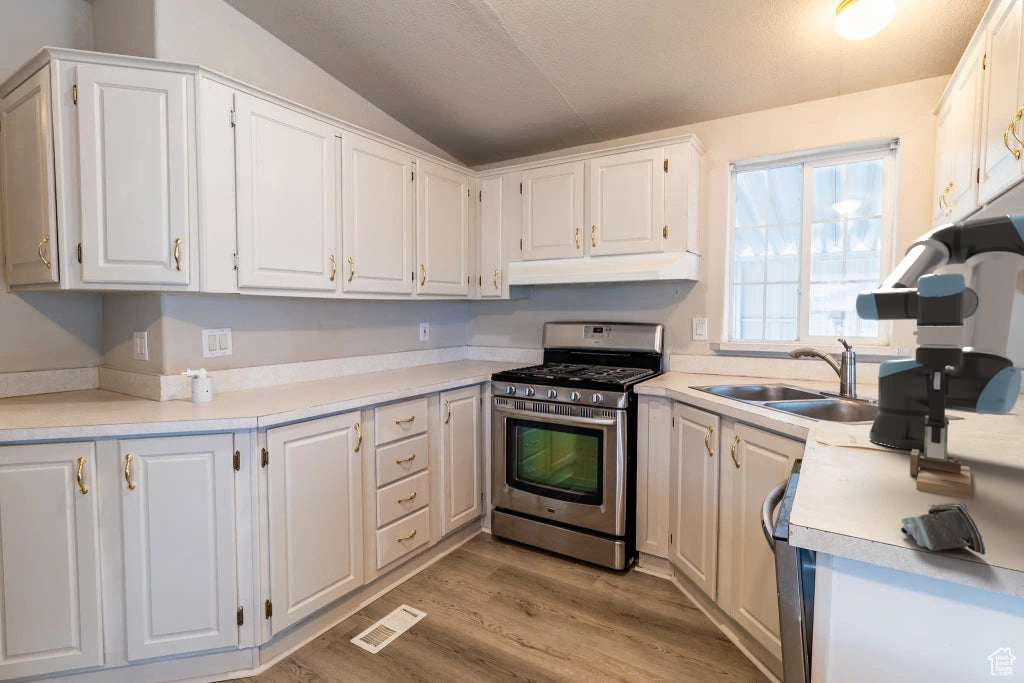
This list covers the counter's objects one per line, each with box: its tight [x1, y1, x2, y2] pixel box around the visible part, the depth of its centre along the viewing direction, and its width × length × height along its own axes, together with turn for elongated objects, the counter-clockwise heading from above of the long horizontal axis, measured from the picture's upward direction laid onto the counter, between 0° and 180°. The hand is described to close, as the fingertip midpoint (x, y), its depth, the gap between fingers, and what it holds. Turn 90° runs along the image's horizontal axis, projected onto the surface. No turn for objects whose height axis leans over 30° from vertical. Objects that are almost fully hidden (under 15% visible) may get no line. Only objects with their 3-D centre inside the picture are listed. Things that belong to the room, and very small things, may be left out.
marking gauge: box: [909, 416, 962, 477], centre depth 103 cm, size 6×8×12 cm
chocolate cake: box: [900, 501, 986, 556], centre depth 73 cm, size 10×7×12 cm
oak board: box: [915, 465, 973, 500], centre depth 101 cm, size 20×8×2 cm, turn 137°
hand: (935, 455), depth 103 cm, fingers closed on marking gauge, 3 cm apart
